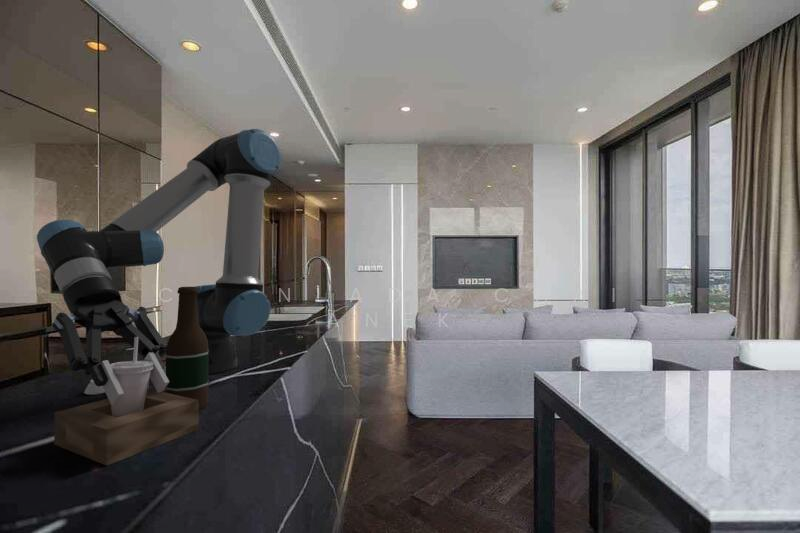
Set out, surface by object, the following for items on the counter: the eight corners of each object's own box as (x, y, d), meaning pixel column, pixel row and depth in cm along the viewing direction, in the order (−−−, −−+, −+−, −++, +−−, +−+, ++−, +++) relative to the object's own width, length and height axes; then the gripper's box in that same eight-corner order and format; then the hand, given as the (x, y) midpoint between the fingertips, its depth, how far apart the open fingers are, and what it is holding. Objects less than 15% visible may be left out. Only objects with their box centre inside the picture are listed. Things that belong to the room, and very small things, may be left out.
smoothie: (154, 425, 64) (160, 338, 64) (106, 434, 59) (112, 341, 60) (144, 415, 68) (149, 334, 69) (98, 423, 63) (104, 336, 64)
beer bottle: (178, 401, 81) (179, 286, 82) (216, 401, 82) (216, 285, 82) (156, 415, 74) (156, 287, 74) (197, 414, 74) (197, 287, 74)
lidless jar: (79, 396, 86) (104, 395, 86) (79, 383, 86) (104, 382, 86) (93, 389, 90) (117, 388, 91) (93, 377, 91) (117, 376, 91)
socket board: (146, 415, 74) (146, 388, 74) (198, 429, 67) (198, 399, 67) (54, 444, 61) (54, 412, 61) (106, 465, 54) (107, 429, 54)
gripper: (136, 299, 80) (187, 391, 72) (10, 307, 63) (59, 428, 55) (152, 274, 78) (207, 365, 70) (25, 274, 60) (79, 395, 53)
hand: (141, 392), depth 62 cm, fingers closed on smoothie, 6 cm apart
